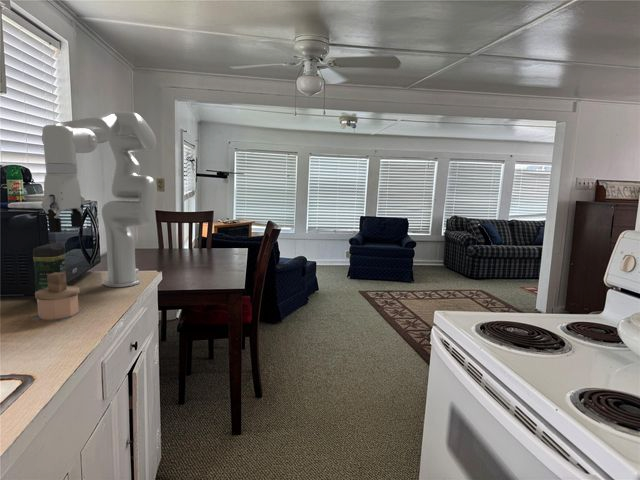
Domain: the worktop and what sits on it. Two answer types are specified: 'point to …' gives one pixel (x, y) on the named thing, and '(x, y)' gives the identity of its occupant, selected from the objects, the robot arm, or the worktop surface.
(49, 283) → the lid
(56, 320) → the mat
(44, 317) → the bowl
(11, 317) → the worktop surface
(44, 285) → the coffee jar
